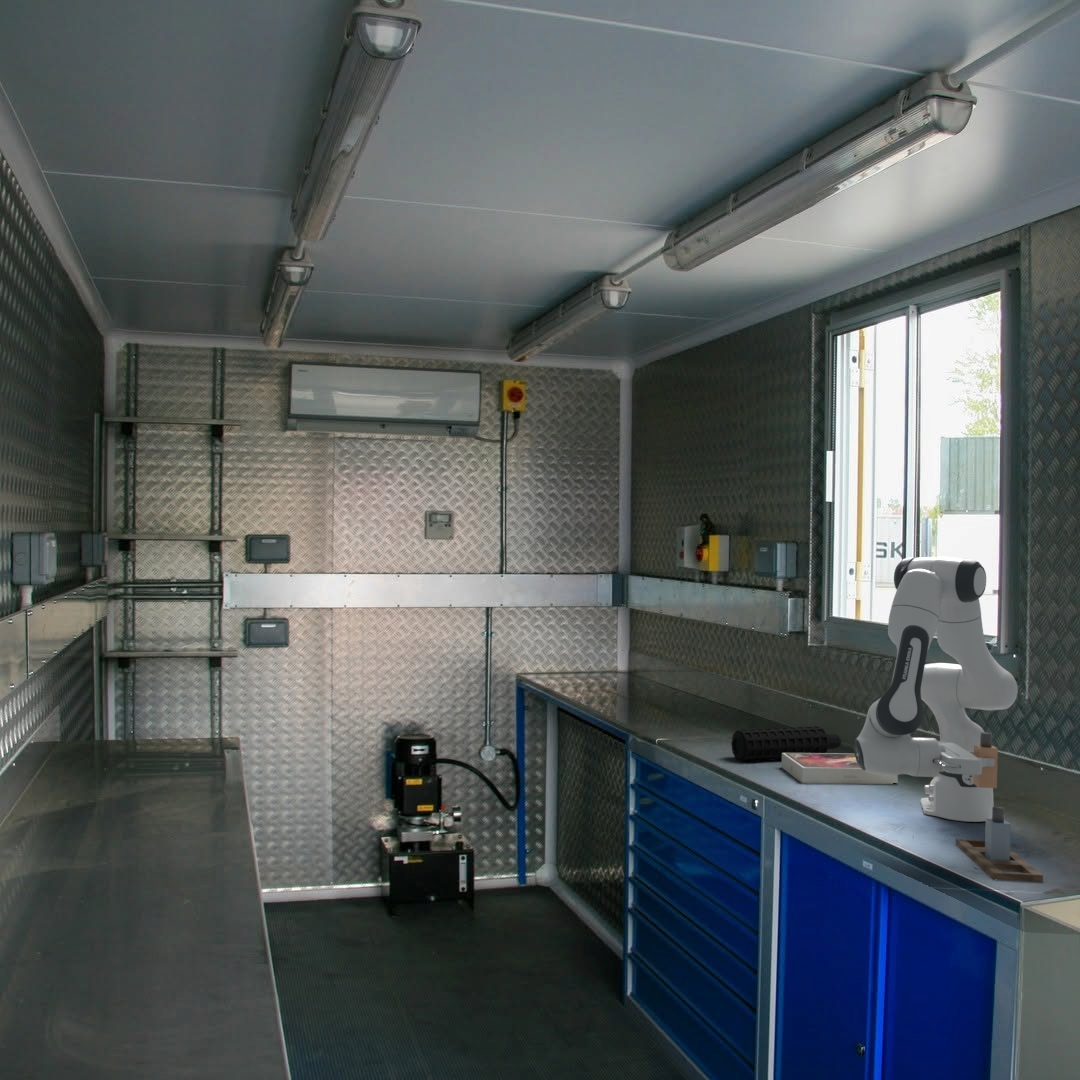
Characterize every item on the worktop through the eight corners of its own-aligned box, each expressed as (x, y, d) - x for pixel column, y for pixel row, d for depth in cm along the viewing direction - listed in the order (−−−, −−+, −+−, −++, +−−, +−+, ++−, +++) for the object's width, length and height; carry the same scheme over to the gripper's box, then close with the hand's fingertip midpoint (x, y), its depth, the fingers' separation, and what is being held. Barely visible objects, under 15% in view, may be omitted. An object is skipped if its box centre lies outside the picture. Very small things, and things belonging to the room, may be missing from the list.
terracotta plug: (973, 783, 252) (974, 731, 252) (990, 784, 252) (992, 732, 252) (978, 787, 248) (980, 734, 248) (996, 788, 248) (998, 735, 248)
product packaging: (781, 769, 338) (781, 752, 338) (870, 769, 340) (871, 753, 340) (802, 785, 316) (802, 767, 316) (897, 785, 318) (897, 768, 318)
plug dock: (955, 845, 254) (956, 839, 254) (1000, 847, 254) (1000, 840, 254) (993, 880, 228) (993, 873, 228) (1042, 882, 228) (1043, 875, 228)
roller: (827, 747, 365) (833, 720, 362) (844, 761, 356) (850, 734, 353) (727, 752, 352) (732, 724, 349) (741, 767, 343) (747, 739, 340)
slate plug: (984, 858, 243) (985, 805, 243) (1003, 859, 243) (1004, 805, 243) (990, 864, 239) (992, 809, 239) (1009, 865, 239) (1010, 810, 239)
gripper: (941, 752, 240) (1005, 754, 239) (916, 735, 261) (975, 738, 260) (940, 780, 240) (1005, 783, 239) (915, 762, 261) (975, 764, 260)
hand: (989, 759), depth 250 cm, fingers closed on terracotta plug, 4 cm apart
